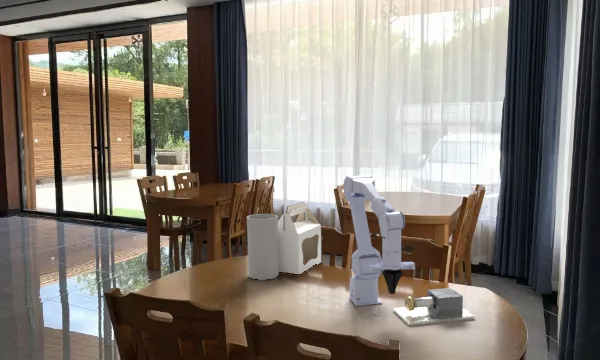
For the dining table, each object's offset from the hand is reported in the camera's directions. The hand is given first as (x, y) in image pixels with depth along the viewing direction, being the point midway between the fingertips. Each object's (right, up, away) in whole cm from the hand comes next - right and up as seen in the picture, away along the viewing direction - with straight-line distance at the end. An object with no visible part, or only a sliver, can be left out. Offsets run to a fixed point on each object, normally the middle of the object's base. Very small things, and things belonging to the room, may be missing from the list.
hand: (391, 293), depth 146 cm
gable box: (-30, -3, +60) cm, 67 cm away
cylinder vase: (-44, -5, +47) cm, 64 cm away
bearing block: (+14, -8, +4) cm, 16 cm away
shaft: (+12, -6, +3) cm, 14 cm away
